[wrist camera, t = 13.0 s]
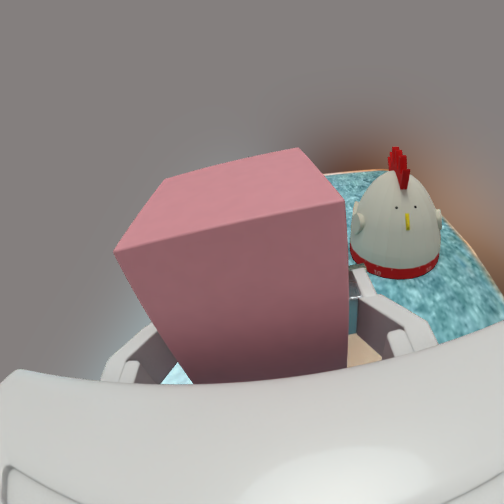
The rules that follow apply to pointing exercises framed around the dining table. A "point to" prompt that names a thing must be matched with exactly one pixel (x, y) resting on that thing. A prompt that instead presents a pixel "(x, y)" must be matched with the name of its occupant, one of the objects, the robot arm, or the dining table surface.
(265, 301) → the pink carton
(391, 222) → the kitchen timer
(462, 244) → the dining table surface
